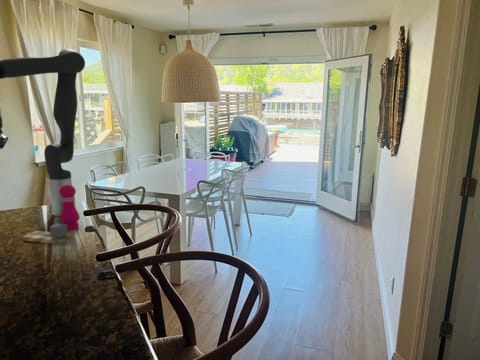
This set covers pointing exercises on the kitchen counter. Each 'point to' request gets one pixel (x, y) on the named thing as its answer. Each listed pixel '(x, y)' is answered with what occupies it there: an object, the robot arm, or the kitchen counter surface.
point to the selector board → (46, 237)
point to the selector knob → (58, 230)
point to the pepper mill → (69, 207)
